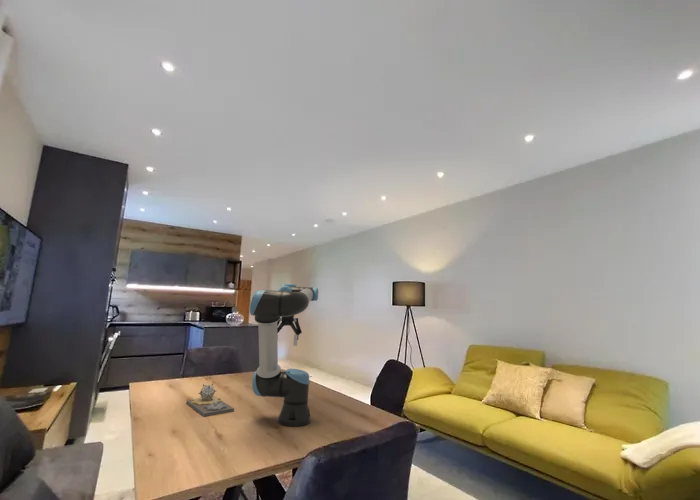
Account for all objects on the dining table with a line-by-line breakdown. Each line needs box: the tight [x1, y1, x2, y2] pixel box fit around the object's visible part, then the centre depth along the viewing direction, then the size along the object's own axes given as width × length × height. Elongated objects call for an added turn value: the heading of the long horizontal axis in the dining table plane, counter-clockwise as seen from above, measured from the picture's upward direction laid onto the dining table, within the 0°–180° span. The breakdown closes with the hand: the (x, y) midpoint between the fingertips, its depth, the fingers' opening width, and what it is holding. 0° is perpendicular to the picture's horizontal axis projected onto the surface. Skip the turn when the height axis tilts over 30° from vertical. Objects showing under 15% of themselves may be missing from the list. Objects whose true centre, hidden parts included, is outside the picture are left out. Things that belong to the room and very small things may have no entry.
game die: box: [197, 383, 216, 401], centre depth 177 cm, size 9×8×10 cm
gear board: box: [186, 395, 235, 418], centre depth 173 cm, size 26×15×5 cm, turn 43°
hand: (285, 346), depth 195 cm, fingers open, 13 cm apart
